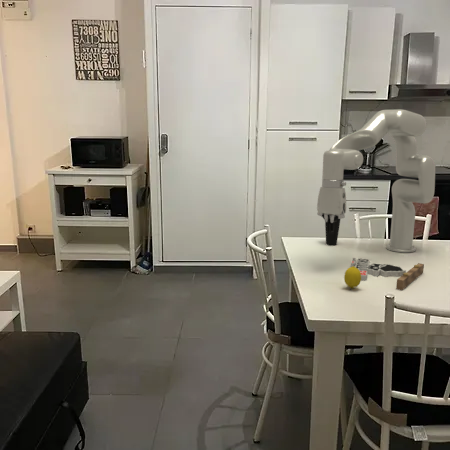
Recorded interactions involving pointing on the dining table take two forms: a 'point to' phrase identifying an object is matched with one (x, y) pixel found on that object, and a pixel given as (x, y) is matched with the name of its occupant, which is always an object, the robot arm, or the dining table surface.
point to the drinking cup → (333, 234)
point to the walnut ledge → (409, 276)
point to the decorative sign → (376, 269)
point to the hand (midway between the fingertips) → (329, 231)
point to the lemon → (352, 277)
